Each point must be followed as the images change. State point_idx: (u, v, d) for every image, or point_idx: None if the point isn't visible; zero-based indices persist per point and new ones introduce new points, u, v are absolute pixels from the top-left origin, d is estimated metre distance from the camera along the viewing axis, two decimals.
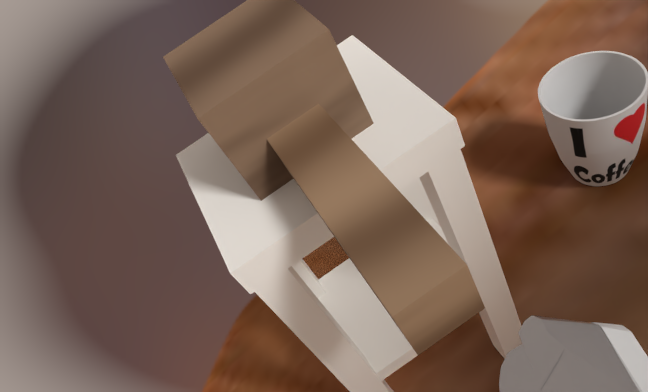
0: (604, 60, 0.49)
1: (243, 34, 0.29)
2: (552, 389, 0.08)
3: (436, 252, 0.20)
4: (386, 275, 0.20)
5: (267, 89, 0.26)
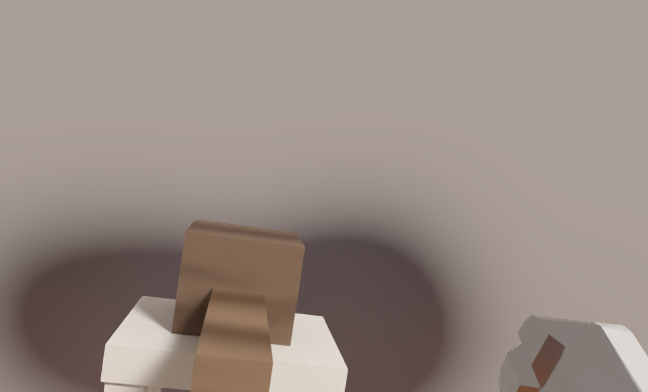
0: None
1: (253, 232, 0.39)
2: (552, 389, 0.08)
3: (259, 352, 0.24)
4: (214, 344, 0.24)
5: (240, 252, 0.34)
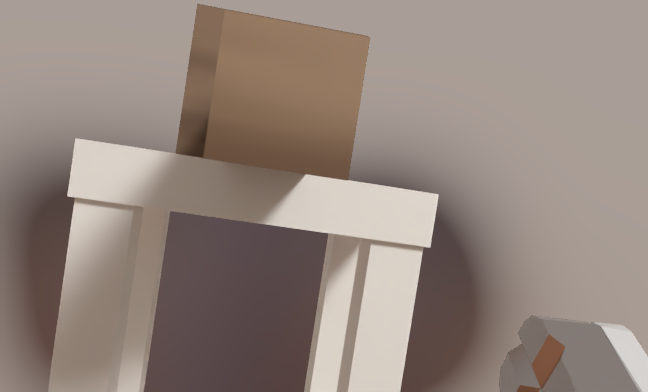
0: None
1: None
2: (552, 389, 0.08)
3: None
4: None
5: None
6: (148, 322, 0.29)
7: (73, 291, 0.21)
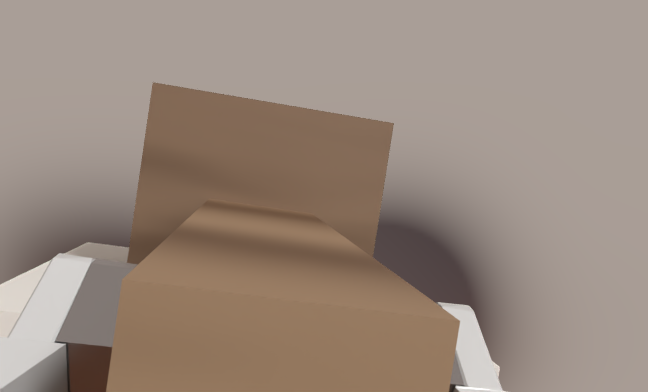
0: None
1: None
2: None
3: (380, 289, 0.06)
4: (211, 260, 0.07)
5: (265, 129, 0.17)
6: None
7: None
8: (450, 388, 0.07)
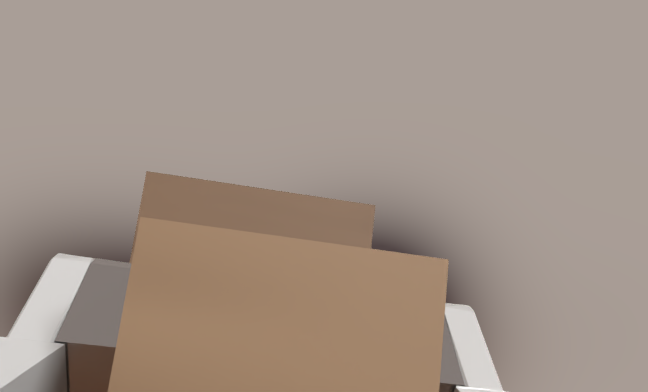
0: None
1: None
2: None
3: None
4: None
5: (253, 212, 0.18)
6: None
7: None
8: (451, 388, 0.07)
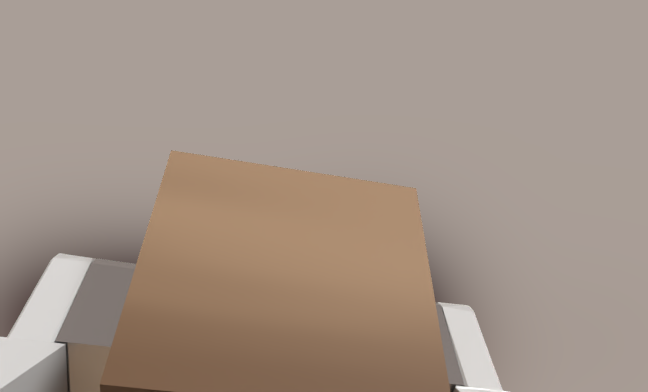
0: None
1: None
2: None
3: None
4: None
5: None
6: None
7: None
8: (450, 388, 0.07)
